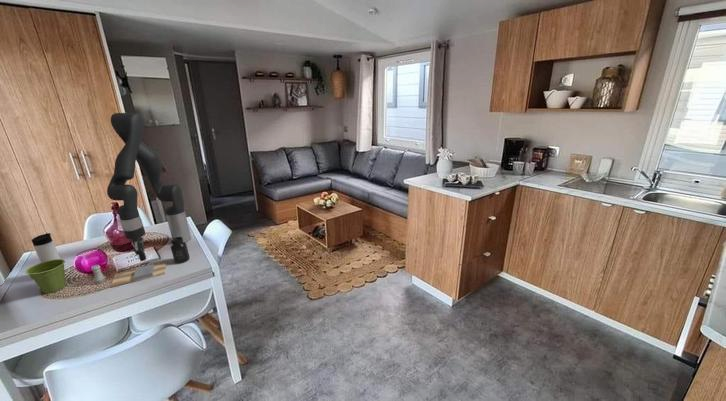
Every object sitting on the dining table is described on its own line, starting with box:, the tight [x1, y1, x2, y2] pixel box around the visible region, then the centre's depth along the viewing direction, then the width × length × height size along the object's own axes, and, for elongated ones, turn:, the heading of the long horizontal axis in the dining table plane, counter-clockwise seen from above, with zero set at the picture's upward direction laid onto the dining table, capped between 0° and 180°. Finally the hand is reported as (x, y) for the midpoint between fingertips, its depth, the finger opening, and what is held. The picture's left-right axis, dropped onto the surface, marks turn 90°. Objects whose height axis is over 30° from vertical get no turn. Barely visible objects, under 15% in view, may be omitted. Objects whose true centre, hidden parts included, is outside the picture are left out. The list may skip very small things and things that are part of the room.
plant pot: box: [25, 258, 67, 294], centre depth 128 cm, size 12×12×11 cm
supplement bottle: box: [170, 237, 191, 264], centre depth 148 cm, size 7×7×12 cm
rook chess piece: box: [90, 264, 108, 285], centre depth 132 cm, size 4×4×8 cm
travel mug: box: [31, 232, 66, 273], centre depth 138 cm, size 6×7×20 cm
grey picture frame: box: [133, 263, 154, 281], centre depth 137 cm, size 2×7×9 cm
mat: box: [110, 261, 167, 289], centre depth 138 cm, size 12×20×1 cm, turn 120°
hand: (143, 260), depth 141 cm, fingers closed
